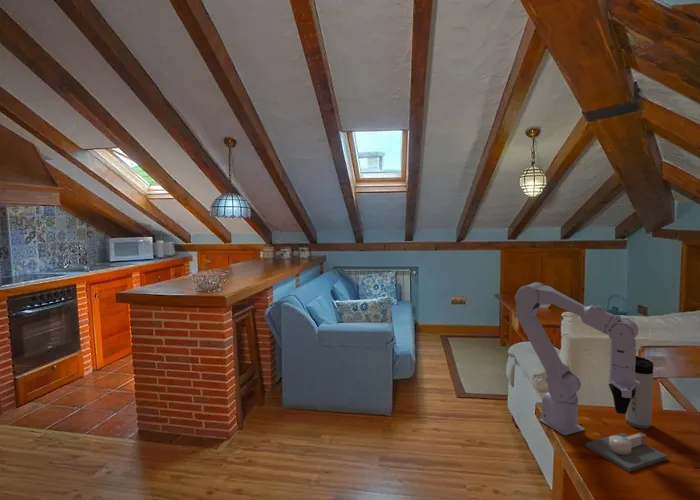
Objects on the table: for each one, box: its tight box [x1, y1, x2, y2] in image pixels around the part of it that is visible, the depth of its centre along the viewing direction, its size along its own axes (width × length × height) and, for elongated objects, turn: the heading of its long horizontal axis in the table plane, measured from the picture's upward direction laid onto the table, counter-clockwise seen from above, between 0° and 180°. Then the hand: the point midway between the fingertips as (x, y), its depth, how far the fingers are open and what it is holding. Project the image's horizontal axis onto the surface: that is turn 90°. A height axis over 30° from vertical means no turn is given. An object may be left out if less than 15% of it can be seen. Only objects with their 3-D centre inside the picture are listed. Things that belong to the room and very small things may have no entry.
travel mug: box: [625, 355, 654, 430], centre depth 122 cm, size 6×7×20 cm
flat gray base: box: [585, 432, 668, 473], centre depth 108 cm, size 12×14×1 cm
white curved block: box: [609, 431, 648, 455], centre depth 108 cm, size 12×5×2 cm, turn 110°
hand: (620, 412), depth 111 cm, fingers closed
